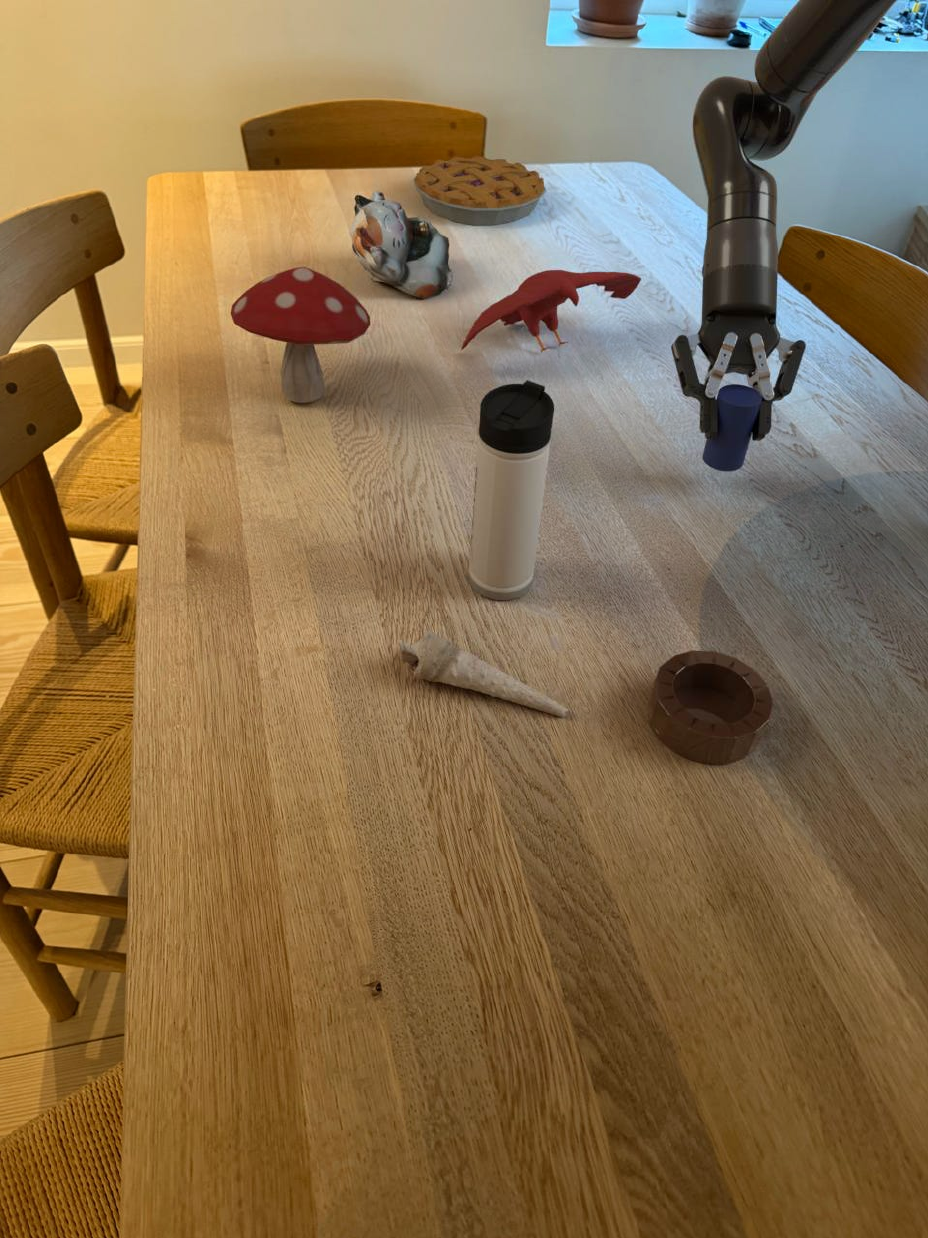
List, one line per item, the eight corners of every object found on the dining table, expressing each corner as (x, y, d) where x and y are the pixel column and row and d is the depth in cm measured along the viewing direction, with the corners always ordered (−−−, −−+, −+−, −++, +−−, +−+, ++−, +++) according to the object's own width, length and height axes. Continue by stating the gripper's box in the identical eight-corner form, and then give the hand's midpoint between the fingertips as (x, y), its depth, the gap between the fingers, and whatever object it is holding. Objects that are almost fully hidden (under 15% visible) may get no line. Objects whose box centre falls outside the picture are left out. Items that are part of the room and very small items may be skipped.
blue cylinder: (738, 449, 105) (756, 384, 100) (747, 472, 102) (766, 407, 96) (699, 447, 105) (714, 382, 100) (705, 471, 102) (722, 405, 96)
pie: (485, 171, 173) (487, 141, 170) (569, 210, 162) (573, 180, 158) (388, 195, 163) (388, 165, 159) (470, 239, 151) (472, 207, 148)
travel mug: (545, 572, 94) (570, 392, 80) (513, 610, 90) (533, 428, 76) (489, 549, 96) (505, 370, 82) (456, 585, 92) (466, 404, 78)
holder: (748, 680, 85) (758, 652, 82) (772, 767, 78) (784, 740, 76) (641, 676, 85) (648, 648, 82) (655, 762, 78) (664, 735, 75)
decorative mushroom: (224, 373, 118) (207, 254, 108) (343, 349, 124) (338, 234, 114) (266, 439, 108) (252, 315, 98) (394, 410, 114) (393, 289, 104)
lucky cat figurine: (452, 304, 134) (411, 225, 123) (376, 326, 139) (329, 252, 127) (457, 232, 142) (418, 152, 131) (384, 255, 146) (341, 179, 135)
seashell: (402, 651, 86) (409, 611, 83) (570, 706, 83) (582, 666, 81) (385, 677, 82) (391, 636, 80) (560, 734, 80) (572, 694, 77)
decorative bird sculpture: (445, 395, 125) (498, 351, 112) (417, 329, 125) (467, 277, 111) (605, 341, 138) (670, 295, 125) (579, 281, 137) (642, 229, 124)
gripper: (680, 258, 96) (675, 427, 95) (821, 264, 96) (817, 433, 96) (663, 285, 103) (658, 443, 103) (794, 291, 104) (790, 448, 103)
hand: (735, 437), depth 99 cm, fingers closed on blue cylinder, 4 cm apart
